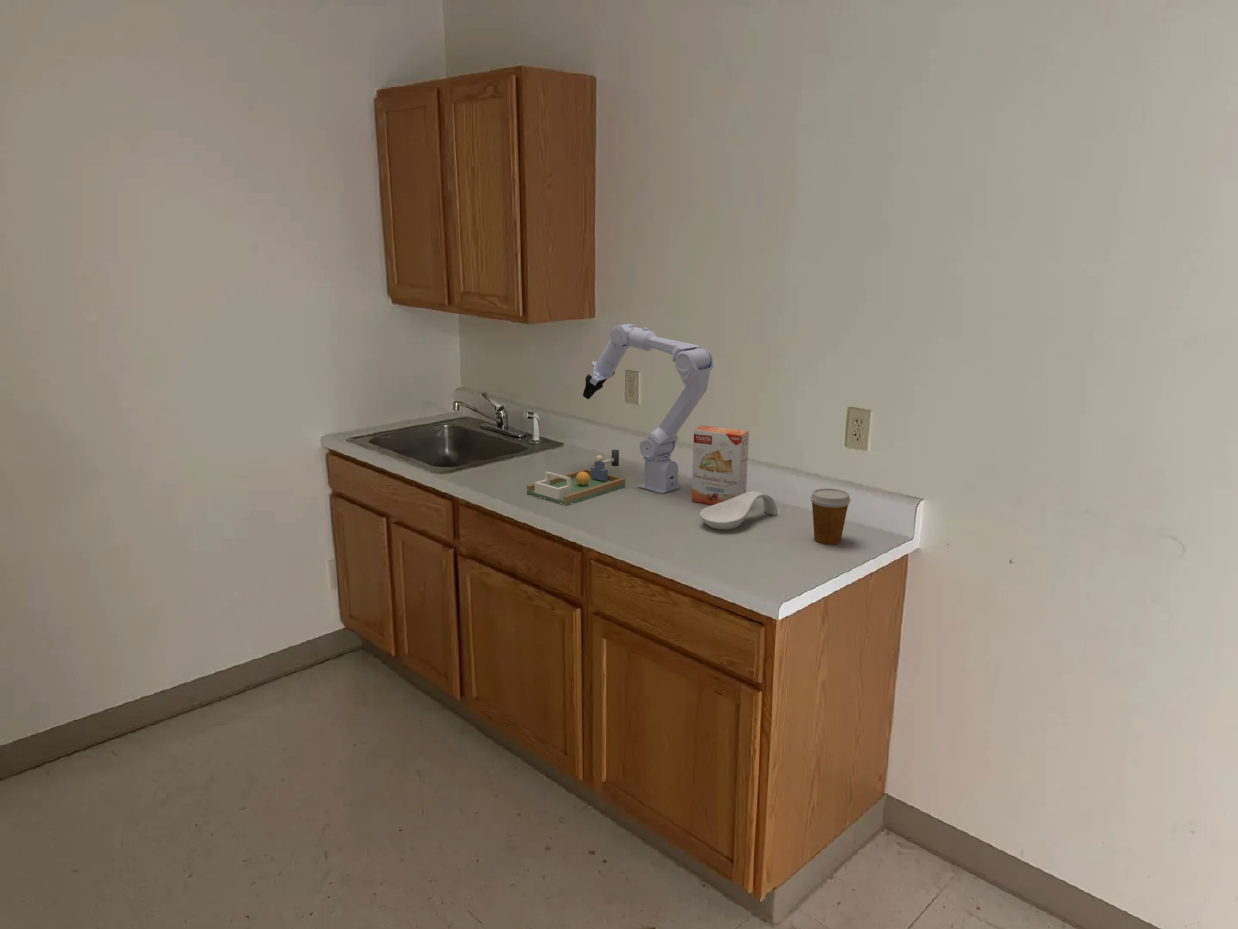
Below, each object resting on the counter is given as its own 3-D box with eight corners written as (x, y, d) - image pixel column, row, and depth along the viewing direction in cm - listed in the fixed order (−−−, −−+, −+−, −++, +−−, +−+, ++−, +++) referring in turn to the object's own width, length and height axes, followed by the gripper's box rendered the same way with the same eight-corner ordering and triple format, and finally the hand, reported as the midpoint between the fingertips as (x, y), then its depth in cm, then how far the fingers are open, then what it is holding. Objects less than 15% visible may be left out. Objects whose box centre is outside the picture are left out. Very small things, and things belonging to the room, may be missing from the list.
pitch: (625, 486, 261) (625, 466, 259) (566, 505, 244) (566, 483, 242) (585, 476, 271) (585, 456, 270) (527, 493, 254) (526, 472, 252)
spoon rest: (722, 538, 221) (723, 510, 219) (689, 525, 229) (690, 498, 228) (787, 519, 235) (788, 493, 233) (754, 508, 244) (755, 483, 242)
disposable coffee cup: (818, 531, 225) (821, 485, 222) (854, 539, 219) (857, 492, 216) (800, 541, 218) (803, 494, 215) (836, 550, 212) (840, 502, 209)
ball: (592, 485, 259) (592, 471, 258) (582, 488, 256) (582, 474, 255) (582, 482, 262) (582, 469, 261) (573, 485, 259) (572, 471, 258)
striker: (623, 474, 268) (624, 451, 266) (603, 481, 262) (603, 457, 260) (611, 471, 271) (611, 448, 270) (590, 477, 265) (590, 454, 263)
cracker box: (690, 502, 247) (692, 428, 242) (699, 496, 252) (701, 424, 247) (738, 510, 241) (741, 434, 235) (746, 504, 246) (749, 430, 241)
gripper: (607, 341, 269) (588, 375, 276) (590, 359, 257) (570, 394, 265) (627, 355, 268) (607, 388, 276) (610, 373, 257) (590, 407, 264)
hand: (590, 392), depth 270 cm, fingers open, 7 cm apart
